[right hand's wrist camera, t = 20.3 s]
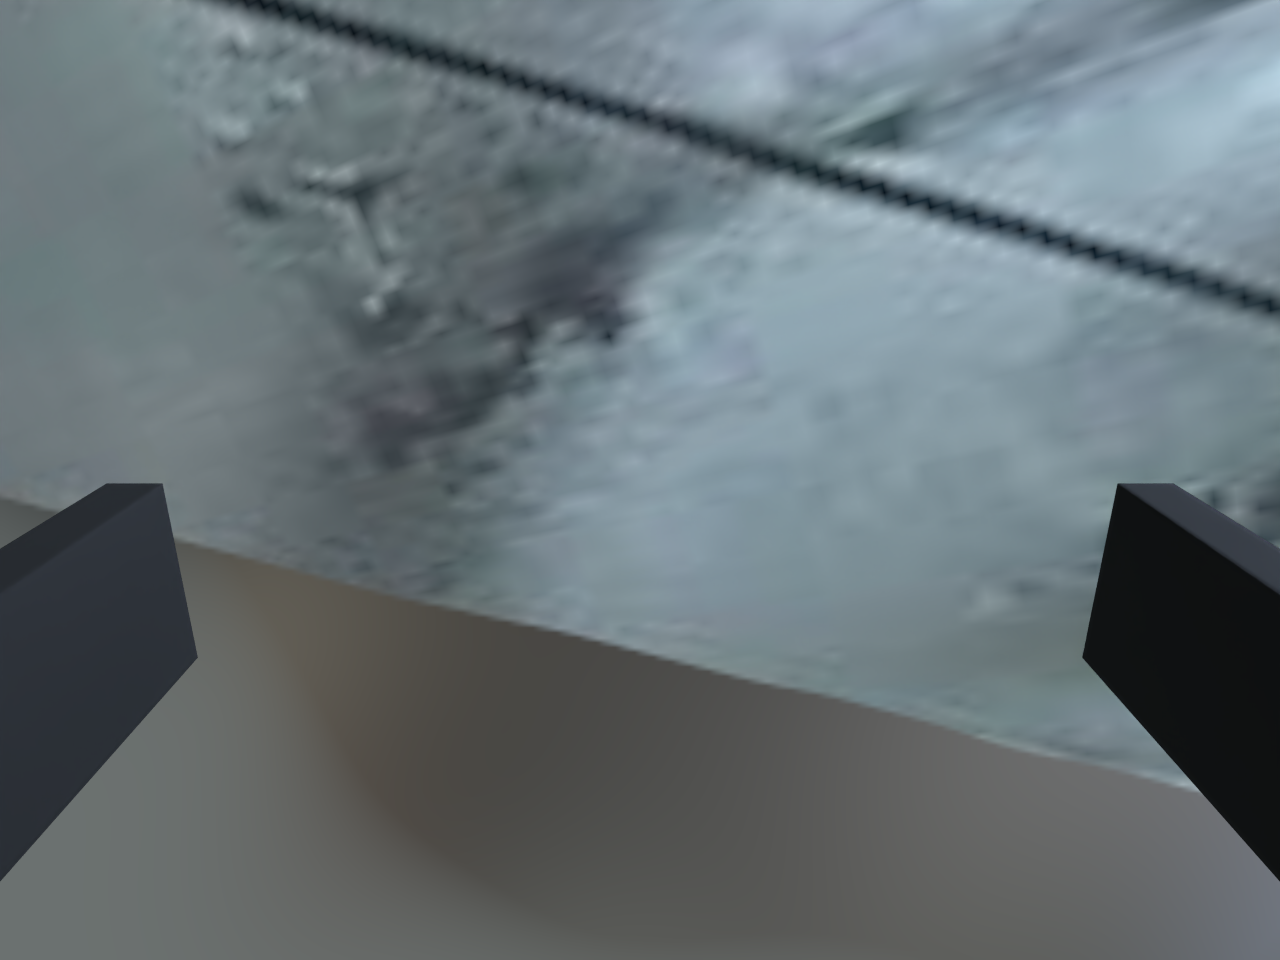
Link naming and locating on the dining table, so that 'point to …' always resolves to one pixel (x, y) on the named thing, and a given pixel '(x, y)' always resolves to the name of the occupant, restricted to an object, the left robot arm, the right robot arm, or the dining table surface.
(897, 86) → the dining table surface
